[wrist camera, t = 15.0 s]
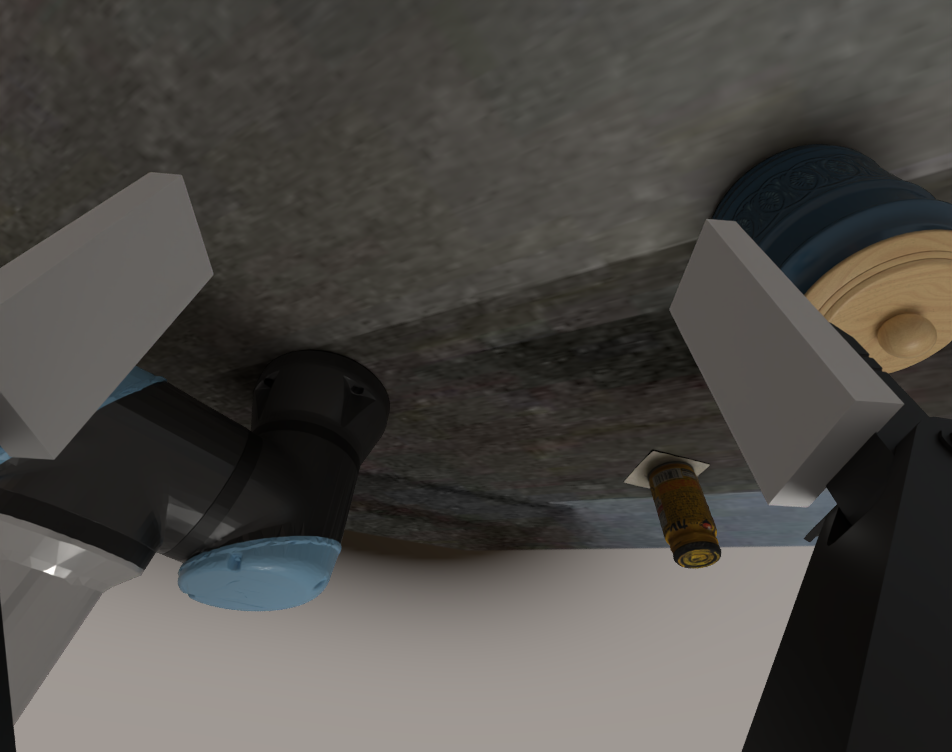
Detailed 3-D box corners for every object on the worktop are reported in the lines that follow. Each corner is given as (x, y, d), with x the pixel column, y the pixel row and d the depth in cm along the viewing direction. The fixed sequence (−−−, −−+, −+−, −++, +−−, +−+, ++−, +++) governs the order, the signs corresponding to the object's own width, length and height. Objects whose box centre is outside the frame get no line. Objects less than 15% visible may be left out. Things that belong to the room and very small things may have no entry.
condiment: (677, 493, 67) (705, 577, 58) (623, 481, 66) (643, 565, 57) (709, 463, 63) (745, 548, 54) (652, 448, 61) (679, 534, 52)
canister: (677, 273, 45) (754, 409, 31) (756, 123, 36) (908, 223, 23) (804, 297, 46) (930, 438, 33) (910, 158, 37) (1137, 271, 24)
